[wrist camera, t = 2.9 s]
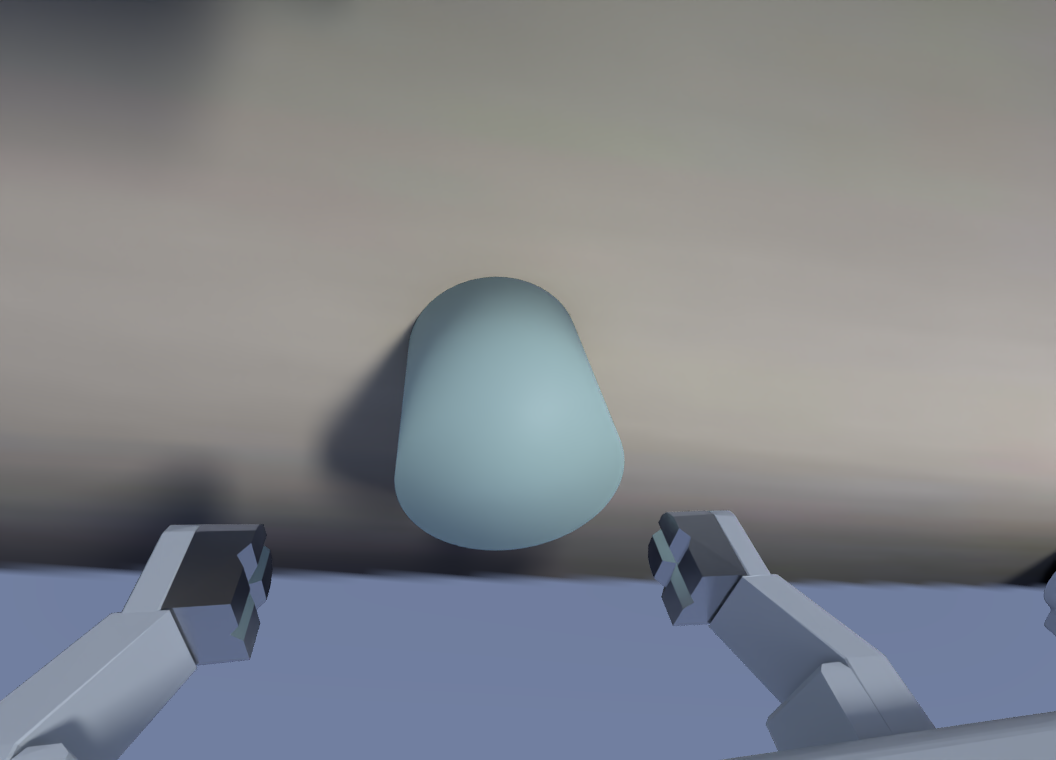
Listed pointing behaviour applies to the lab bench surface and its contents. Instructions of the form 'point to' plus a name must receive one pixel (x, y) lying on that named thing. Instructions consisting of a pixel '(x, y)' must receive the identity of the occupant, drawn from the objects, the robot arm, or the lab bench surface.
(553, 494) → the pale blue egg shape
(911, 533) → the lab bench surface
